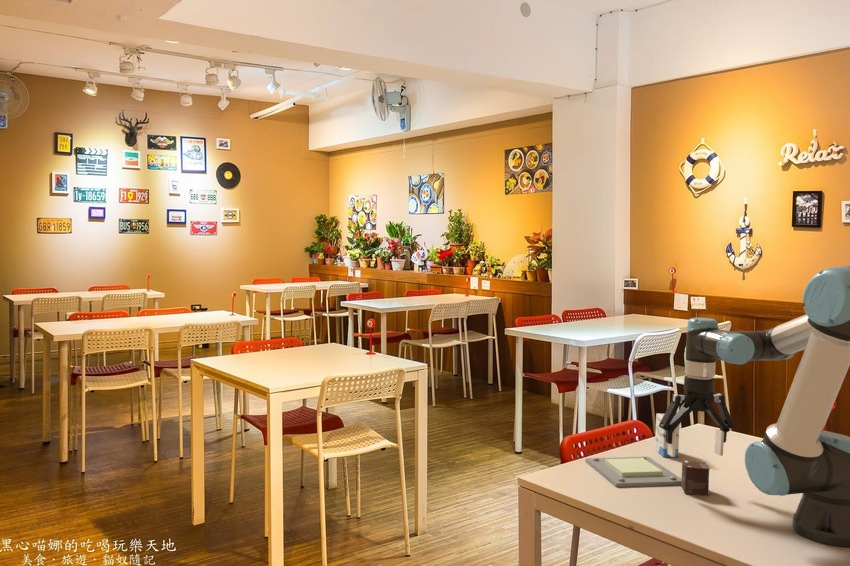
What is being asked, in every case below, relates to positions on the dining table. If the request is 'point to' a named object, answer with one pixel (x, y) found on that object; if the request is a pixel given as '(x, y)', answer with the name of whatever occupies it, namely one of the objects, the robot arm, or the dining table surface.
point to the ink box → (660, 436)
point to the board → (633, 471)
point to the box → (695, 478)
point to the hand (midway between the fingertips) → (695, 454)
